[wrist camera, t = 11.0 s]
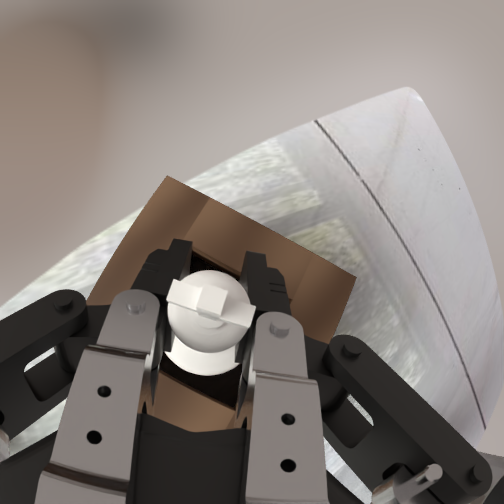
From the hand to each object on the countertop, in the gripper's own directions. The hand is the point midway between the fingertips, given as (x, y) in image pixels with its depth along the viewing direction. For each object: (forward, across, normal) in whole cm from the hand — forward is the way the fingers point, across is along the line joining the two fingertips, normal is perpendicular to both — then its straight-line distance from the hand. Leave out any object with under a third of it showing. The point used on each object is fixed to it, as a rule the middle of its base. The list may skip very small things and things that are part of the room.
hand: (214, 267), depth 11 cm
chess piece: (+1, 0, +4) cm, 5 cm away
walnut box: (+11, 0, +14) cm, 18 cm away
